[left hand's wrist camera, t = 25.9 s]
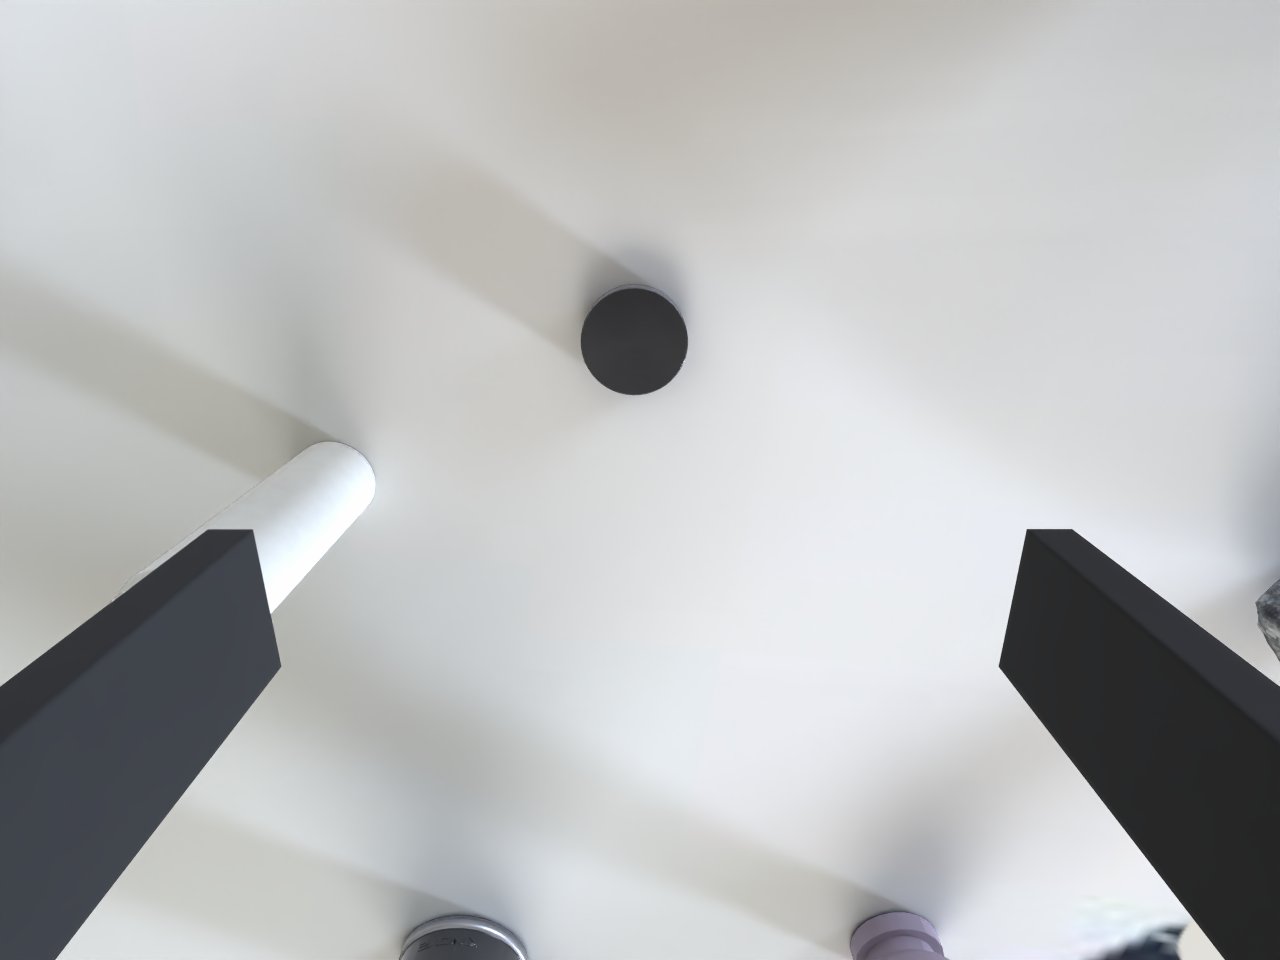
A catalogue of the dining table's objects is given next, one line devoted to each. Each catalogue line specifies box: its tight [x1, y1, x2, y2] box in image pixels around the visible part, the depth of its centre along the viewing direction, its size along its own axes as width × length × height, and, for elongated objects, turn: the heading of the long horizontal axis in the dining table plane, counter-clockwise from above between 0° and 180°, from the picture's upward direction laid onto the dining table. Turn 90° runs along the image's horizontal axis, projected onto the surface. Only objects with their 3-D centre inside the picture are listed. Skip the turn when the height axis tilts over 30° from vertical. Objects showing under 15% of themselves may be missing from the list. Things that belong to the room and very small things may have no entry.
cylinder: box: [110, 442, 375, 614], centre depth 33 cm, size 5×4×17 cm
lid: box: [581, 284, 688, 395], centre depth 38 cm, size 5×5×2 cm
